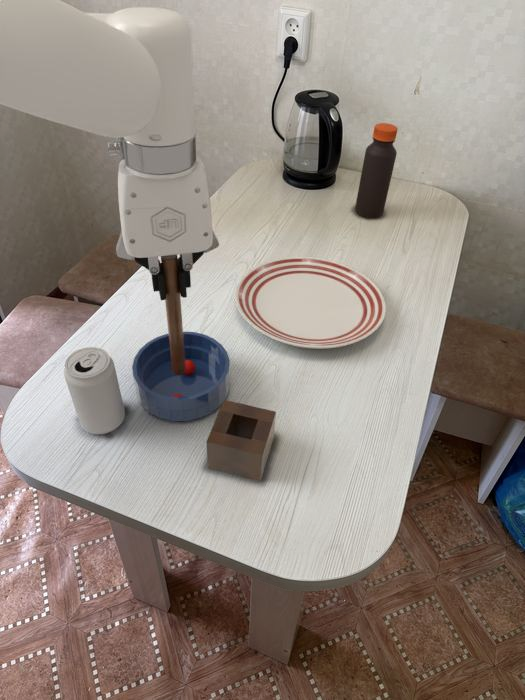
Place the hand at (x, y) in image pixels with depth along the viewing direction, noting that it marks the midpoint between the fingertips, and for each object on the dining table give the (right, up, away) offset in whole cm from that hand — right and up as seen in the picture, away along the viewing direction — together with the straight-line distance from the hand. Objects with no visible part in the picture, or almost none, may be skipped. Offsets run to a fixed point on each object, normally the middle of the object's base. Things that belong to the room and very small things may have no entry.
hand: (172, 291), depth 65 cm
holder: (+9, -22, +5) cm, 24 cm away
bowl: (-1, -14, +13) cm, 19 cm away
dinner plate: (+20, 0, +29) cm, 35 cm away
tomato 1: (-1, -15, +10) cm, 18 cm away
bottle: (+37, +26, +57) cm, 73 cm away
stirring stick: (-1, -11, +10) cm, 15 cm away
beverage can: (-11, -18, +8) cm, 23 cm away
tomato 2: (0, -10, +15) cm, 18 cm away
